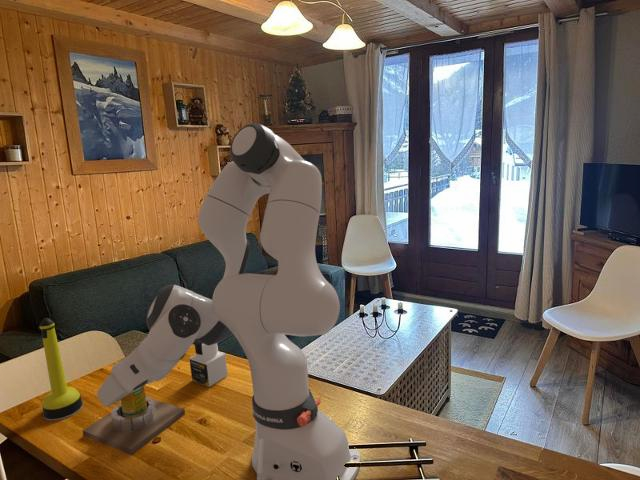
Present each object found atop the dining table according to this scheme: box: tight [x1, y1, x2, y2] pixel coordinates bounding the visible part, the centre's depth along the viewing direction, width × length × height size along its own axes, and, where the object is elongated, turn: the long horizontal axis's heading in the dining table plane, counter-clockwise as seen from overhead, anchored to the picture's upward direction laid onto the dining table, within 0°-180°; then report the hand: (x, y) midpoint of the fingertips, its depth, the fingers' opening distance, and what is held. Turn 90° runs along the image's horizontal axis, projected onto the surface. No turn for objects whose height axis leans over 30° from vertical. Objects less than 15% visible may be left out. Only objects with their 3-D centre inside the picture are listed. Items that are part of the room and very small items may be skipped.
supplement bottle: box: [120, 385, 147, 417], centre depth 106 cm, size 5×5×10 cm
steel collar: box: [110, 396, 156, 432], centre depth 107 cm, size 9×9×3 cm
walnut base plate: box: [82, 399, 186, 456], centre depth 107 cm, size 16×16×2 cm
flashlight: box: [39, 317, 84, 421], centre depth 113 cm, size 25×9×9 cm
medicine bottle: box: [189, 340, 228, 388], centre depth 126 cm, size 7×7×12 cm
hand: (130, 390), depth 106 cm, fingers closed on supplement bottle, 5 cm apart
